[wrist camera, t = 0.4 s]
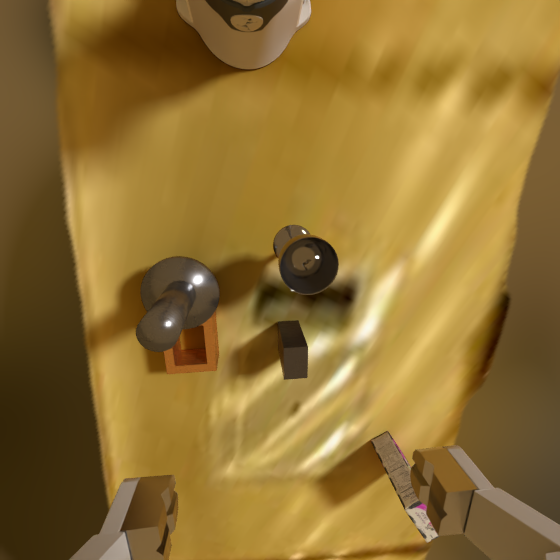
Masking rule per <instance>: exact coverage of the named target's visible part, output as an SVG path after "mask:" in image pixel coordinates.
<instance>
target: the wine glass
mask: <svg viewBox="0 0 560 560" xmlns="http://www.w3.org/2000/svg"><path fill="white" fill-rule="evenodd" d="M274 251H275V254H276V255H277V257H278V258H279V260H278V265H279V271H280V274H281V277H282V279H283V281H284V283H285V284H286V285H287V286H288V287H289V288H290V289H291V290H293V291H295V292H297V293H300V294H305V295H311V294H316V293H319V292H321V291H323V290H325V289H326V288H327V287H329V285H330V284H331V283H332V282H333V281H334V279H335V277H336V275H337V272H338V265H339V263H338V257H337V254H336V252H335V250H334V249H333V247H332V246H331V245H330V244H329V243H328V242H326V241H325V240H323V239H322V238H320V237H318V236H315V235H310V233H309V232H308V231H307V230H306V229H305V228H303V227H301V226H298V225H289V226H286V227H284V228H282V229H281V230H280V231H279V232H278V233H277V235H276V236H275V239H274Z"/></svg>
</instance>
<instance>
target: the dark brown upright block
mask: <svg viewBox="0 0 560 560" xmlns="http://www.w3.org/2000/svg"><path fill="white" fill-rule="evenodd" d="M278 350H279V356H280V361H281V366H282V372H283V377H284V380H285V379H298V378H307V369H308V346H307V343H306V340H305V337H304V335H303V332H302V329H301V327H300V324H299V321H298V320H297V321H279V322H278Z"/></svg>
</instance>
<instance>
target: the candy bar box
mask: <svg viewBox="0 0 560 560" xmlns="http://www.w3.org/2000/svg"><path fill="white" fill-rule="evenodd" d="M371 442H372V444H373V446H374V448H375V450H376V452H377V454H378V456H379V459H380V461H381V463H382V465H383V467H384V469H385V471H386V473H387V475H388V477H389V479H390V481H391V483H392V485H393V487H394V489H395V491H396V493H397V495H398V497H399V499H400V501H401V503H402V505H403V507H404V509H405V511H406V513H407V514H408V516H409V517H410V519H411V520H412V522H413V523H414V524H415V526H416V527H417V529H418V530H419V532H420V533H421V535H422V536H423V538H424V539H425V540H426V542H429V541H431V540H433V539H435V538H437V537H439V536H438V535H437V533H436V531H435V529H434V527H433V526H432V524H431V522H430V520H429V518H428V517H427V515H426V509H427V506H425V505H424V504H423V503H422V502H420V501H419V500H418V498H417V496H416V495H415V493H414V490H413V487H412V484H411V479H410V471H411V466H410V465H409V463H408V461H407V460H406V458H405V456H404V455H403V453H402V452H401V450H400V449H399V447H398V446H397V444H396V442H395V441H394V439H393V438H392V437H391V435H390V434H389V432H388V431H387V432H385V433H383V434H381V435H380V436H378V437H376V438H374V439H372V440H371Z"/></svg>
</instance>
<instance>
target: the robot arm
mask: <svg viewBox="0 0 560 560" xmlns="http://www.w3.org/2000/svg"><path fill="white" fill-rule="evenodd" d="M303 3H304V4H303ZM176 7H177V11H178V14H179V15H180V17H181V18H182V19H183V20H184V21H185V22H187V23H188V24H189V25H191V26H192V27H193V28H195V29H196V30H197V32H198V33H199V35H200V36H201V38H202V39H203V41H204V42H205V44H206V45H207V47H208V48H209V49H210V51H211V52H212V53H213V54H214V55H215V56H216V57H218V58H219V59H220V60H222V61H223V62H225V63H226V64H228V65H230V66H233V67H236V68H240V69H256V68H260V67H263V66H266V65H268V64H269V63H271V62H272V61H274V60H275V59H276V58H277V57H278V56H279V55H280V54H281V53H282V52H283V51H284V49H285V48H286V46H287V44H288V43H289V41H290V39H291V37H292V36H293V34H294V33H295V32H296V31H297V30H299V29H300V28H301V27H303V26H304V25H305V24H306V23H307V22H308V20H309V19H310V15H311V5H310V0H176ZM412 459H413V460H414V462H415V464H414V465H413V466H412V468H411V471H410V479H411V484H412V487H413V490H414V493H415V495H416V496H417V498H418V500H419V501H420V502H422V503H423V504H424V505H425V506H427V509H426V515H427V517H428V518H429V520H430V522H431V524H432V526H433V527H434V529H435V531H436V533H437V535H438V536H442V535H453V534H463V533H464V536H466V537H467V538H468V539H469V540H470V541H471V542H472V543H473V544H475V545H476V546H477V547H478V548H479V549H480V550H481V551H483V553H485V554H486V555H487V556H488V557H489V558H490V559H491V560H560V525H559V524H557V523H555V522H554V521H552V520H551V519H549V518H547V517H546V516H544V515H542V514H541V513H539V512H537V511H536V510H534V509H532V508H531V507H529V506H528V505H526V504H524V503H523V502H521V501H519V500H518V499H516V498H514V497H513V496H511V495H510V494H508V493H506V492H505V491H503V490H501V489H500V488H494V487H493V486H492V485H491V484H490V482H489V481H488V480H487V479H486V478H485V476H484V475H483V474H482V473H481V472H480V470H479V469H478V468H477V467H476V466H475V464H474V463H473V462H472V461H471V459H470V458H469V457H468V456H467V455H466V453H465V452H464V451H463V450H462V449H461V448H460V447H459V446H457V445H455V446H445V447H434V448H426V449H417V450H415V451H414V452H413V457H412ZM175 484H176V482H175V476H174V475H164V476H150V477H139V478H127V479H124V480H123V482H122V483H121V485H120V487H119V489H118V492H117V494H116V496H115V499H114V501H113V503H112V506H111V508H110V510H109V513H108V515H107V517H106V520H105V522H104V524H103V527H102V529H101V531H100V534H99V535H94V536H93V537H92V538H91V539H90V540H89V541H88V542H87V543H86V544H85V545H84V546H83V547H82V548H81V549H80V550H79V551H78V552H77V553H76V554H75V555H74V556H73V557H72V558H71V559H70V560H169V556H170V551H171V546H172V544H171V538H170V535H171V533H172V532H173V531H174V530H175V527H176V522H177V515H178V495H177V493H176V492H175V491H174V488H175Z"/></svg>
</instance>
